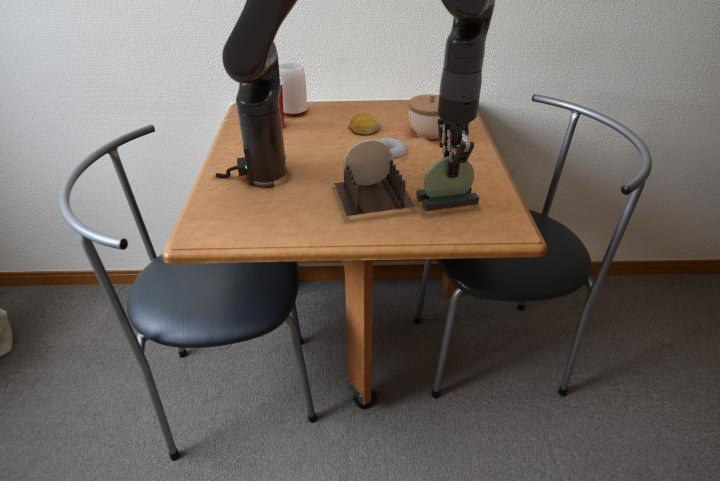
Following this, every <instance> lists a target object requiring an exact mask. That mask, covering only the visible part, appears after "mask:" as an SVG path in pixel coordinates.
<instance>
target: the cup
mask: <svg viewBox="0 0 720 481" xmlns="http://www.w3.org/2000/svg"><path fill="white" fill-rule="evenodd" d="M279 73H280V77H281V79H282V81H283V84H282V90H283V110H284V114H289V115H290V114H292V115H294V114H301V113H304V112H306V111H307V110H308V95H307V94H308V92H307V80H306V73H305V66H304V64H303V63H301V62H296V61H287V62H286V61H285V62H282V63H279Z"/></svg>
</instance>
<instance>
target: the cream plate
mask: <svg viewBox="0 0 720 481" xmlns="http://www.w3.org/2000/svg"><path fill="white" fill-rule="evenodd" d="M390 149H391V148H388V146H387V145H386V144H385V143H383V142H381V141H379V140H377V139H376V138H365V139H361V140H359V141H357V142H355V143H354V144H353V145H351V147H350V148H349V149H348V150H347V152H346V154H345V156H344V159H343V161H344V166H343V171H344V170H345V172H346V165H349V170H351V175H353V176H354V180H356V184H359V185H365V186H366V185H373V184H376V183H378V182H380V181H381V180H383V179H384V178H385V177H386V176H387V175H388V173H389V170H390V160H393V161H394V159H393V157H392V153H391V151H390Z"/></svg>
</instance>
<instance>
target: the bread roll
mask: <svg viewBox="0 0 720 481" xmlns="http://www.w3.org/2000/svg"><path fill="white" fill-rule="evenodd" d="M348 125H349V128H350V129H351V130H352V131H353V132H354V133H355V134H358V135H371V134H374V133H376V132H377V131H378V130H379V128H380V122H379V121H378V120H377V119H376V118H375V117H374V116H373V115H372V114H370V113H366V112H360V113H359V112H358V113H356V114H354V115H353V116H352V117H351V118H350V119H349V122H348Z"/></svg>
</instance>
